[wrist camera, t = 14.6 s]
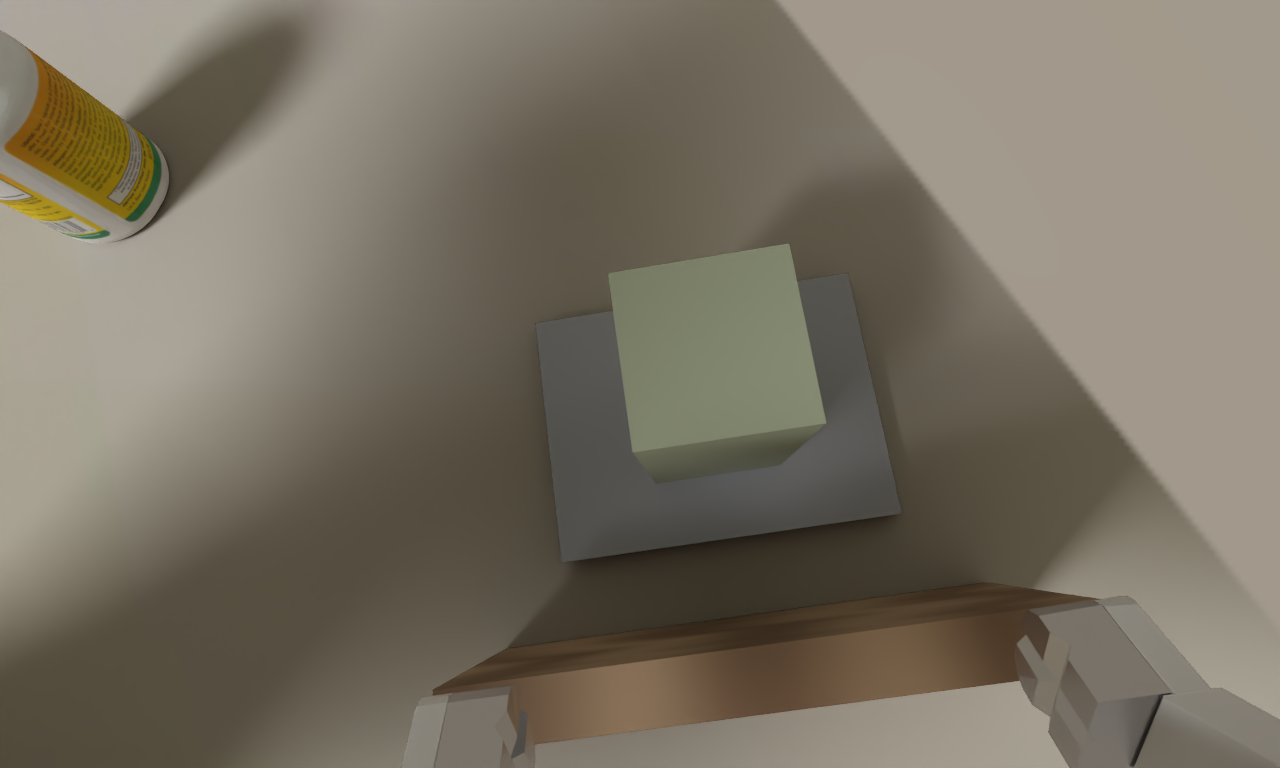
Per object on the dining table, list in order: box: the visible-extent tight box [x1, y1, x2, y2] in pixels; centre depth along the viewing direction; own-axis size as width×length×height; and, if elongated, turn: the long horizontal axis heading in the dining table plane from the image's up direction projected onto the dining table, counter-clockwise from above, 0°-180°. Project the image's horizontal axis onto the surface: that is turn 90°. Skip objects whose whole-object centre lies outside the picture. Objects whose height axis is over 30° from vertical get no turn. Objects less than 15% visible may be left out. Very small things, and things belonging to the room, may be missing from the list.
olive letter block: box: [608, 243, 826, 484], centre depth 21 cm, size 4×5×9 cm
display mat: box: [535, 273, 902, 562], centre depth 26 cm, size 12×9×1 cm
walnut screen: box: [433, 583, 1099, 744], centre depth 21 cm, size 17×2×7 cm, turn 98°
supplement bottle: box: [0, 31, 169, 243], centre depth 26 cm, size 5×5×10 cm
